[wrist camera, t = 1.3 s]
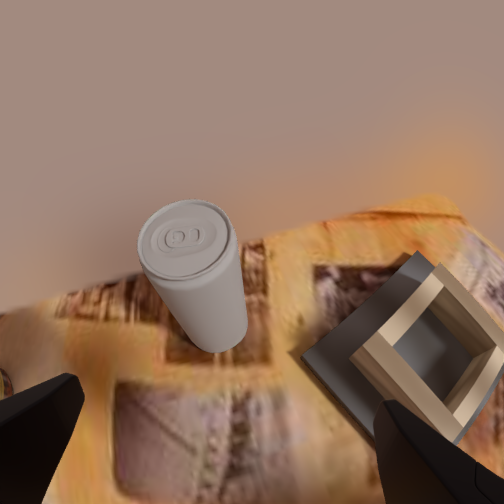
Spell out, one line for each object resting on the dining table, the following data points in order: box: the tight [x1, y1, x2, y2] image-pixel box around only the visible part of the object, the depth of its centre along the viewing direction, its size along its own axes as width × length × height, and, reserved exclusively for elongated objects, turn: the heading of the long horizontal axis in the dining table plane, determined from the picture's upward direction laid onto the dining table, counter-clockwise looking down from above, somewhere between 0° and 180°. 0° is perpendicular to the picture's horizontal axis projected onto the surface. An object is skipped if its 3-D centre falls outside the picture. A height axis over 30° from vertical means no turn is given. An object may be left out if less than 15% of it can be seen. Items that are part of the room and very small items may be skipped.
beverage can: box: [137, 199, 248, 353], centre depth 18 cm, size 5×5×12 cm
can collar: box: [301, 250, 504, 446], centre depth 19 cm, size 15×15×4 cm
